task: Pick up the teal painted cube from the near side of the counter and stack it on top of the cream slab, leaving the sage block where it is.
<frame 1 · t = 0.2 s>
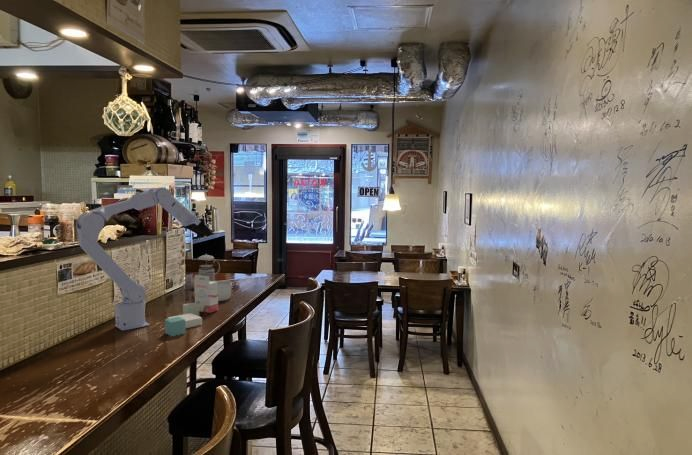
hand: (205, 233, 187), 31 cm above the bar counter, tool tilted 50°, fingers open, 7 cm apart
teal cube: (175, 333, 163), on the bar counter
french press: (208, 284, 245), on the bar counter
ink cartridge box: (206, 311, 193), on the bar counter
sage block: (191, 315, 185), on the bar counter
cream slab: (185, 325, 173), on the bar counter
ramekin: (217, 299, 214), on the bar counter
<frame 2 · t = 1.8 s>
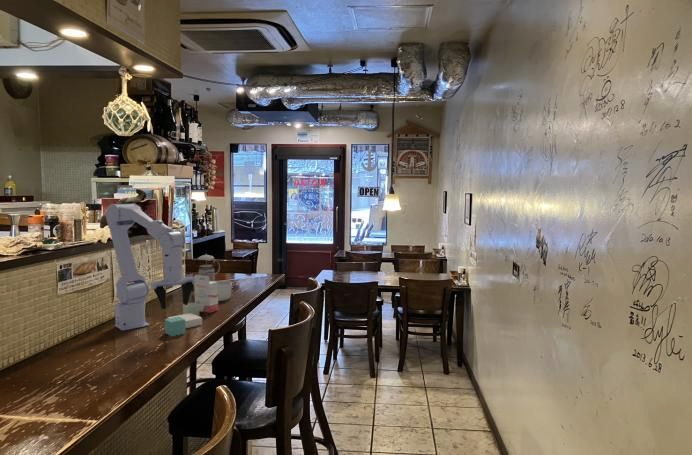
hand: (174, 306, 162), 9 cm above the bar counter, tool pointing down, fingers open, 7 cm apart
nothing on the bar counter moved.
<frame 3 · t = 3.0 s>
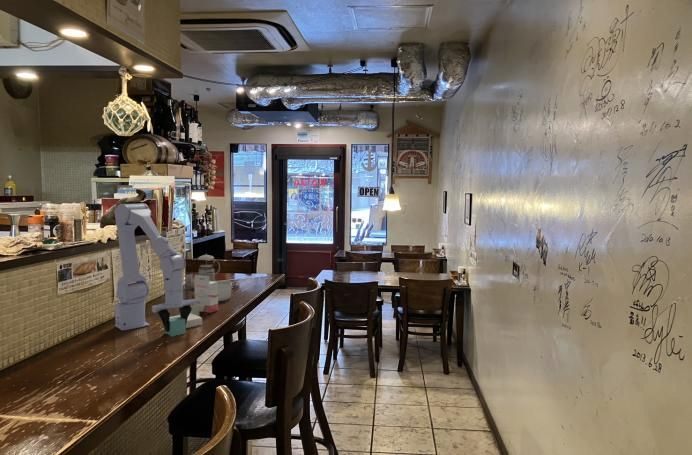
hand: (175, 329, 163), 1 cm above the bar counter, tool pointing down, fingers closed on teal cube, 5 cm apart
teal cube: (175, 333, 163), on the bar counter, touching gripper
everything else where it was.
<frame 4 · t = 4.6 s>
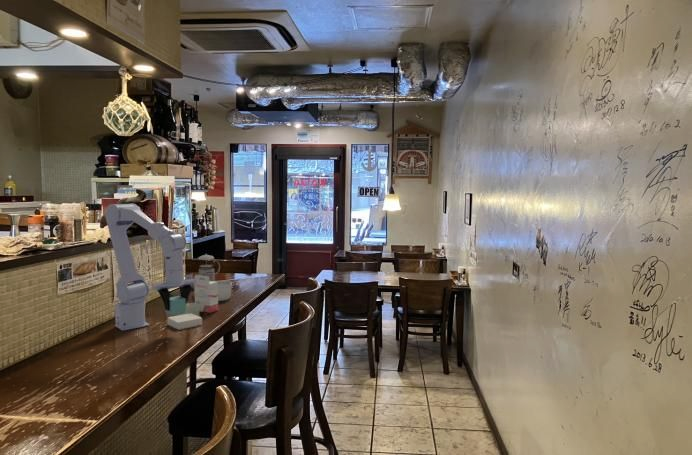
hand: (175, 308, 163), 8 cm above the bar counter, tool pointing down, fingers closed on teal cube, 5 cm apart
teal cube: (175, 312, 163), point 7 cm above the bar counter, touching gripper
everything else where it was.
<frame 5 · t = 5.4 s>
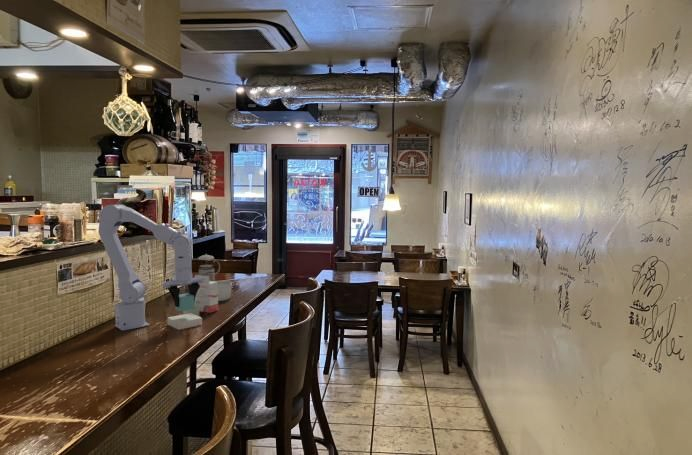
hand: (184, 305, 173), 7 cm above the bar counter, tool pointing down, fingers closed on teal cube, 5 cm apart
teal cube: (184, 309, 173), point 6 cm above the bar counter, touching gripper
everything else where it was.
when the fingers open (6 cm above the bar counter, at t = 6.1 s): teal cube drops 2 cm, resting on cream slab.
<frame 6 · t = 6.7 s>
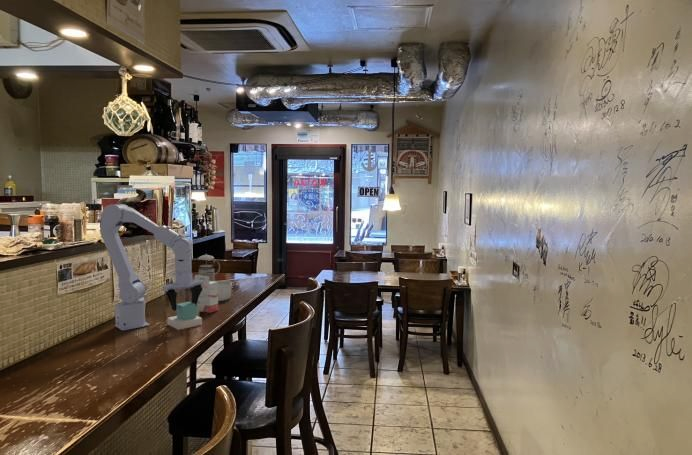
hand: (184, 308, 173), 6 cm above the bar counter, tool pointing down, fingers open, 7 cm apart
teal cube: (186, 317, 173), point 3 cm above the bar counter, touching cream slab
cream slab: (185, 325, 173), on the bar counter, touching teal cube
everything else where it was.
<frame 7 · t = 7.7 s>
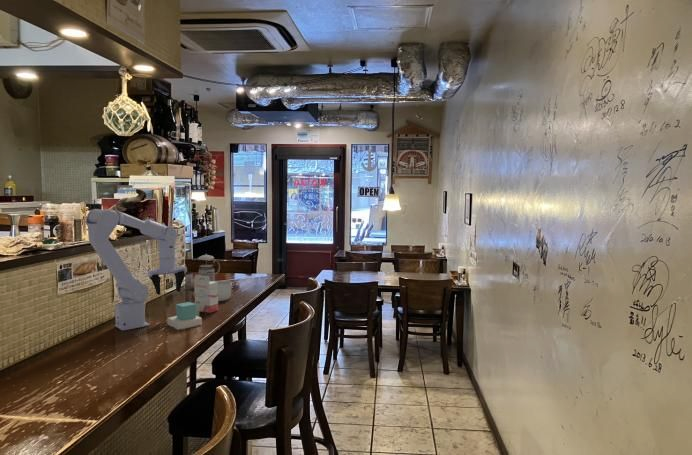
hand: (168, 292, 183), 9 cm above the bar counter, tool pointing down, fingers open, 7 cm apart
teal cube: (186, 317, 173), point 2 cm above the bar counter
cream slab: (184, 325, 173), on the bar counter
everything else where it was.
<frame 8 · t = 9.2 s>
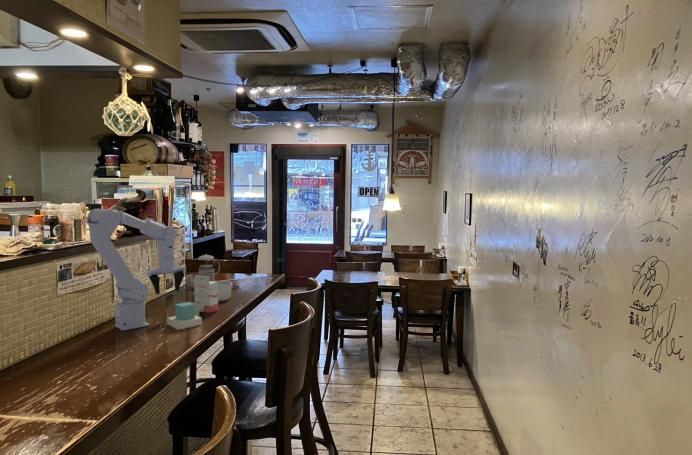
hand: (167, 292, 184), 9 cm above the bar counter, tool pointing down, fingers open, 7 cm apart
teal cube: (185, 317, 173), point 2 cm above the bar counter, touching cream slab
cream slab: (184, 325, 173), on the bar counter, touching teal cube
everything else where it was.
at the end: teal cube 0.4 cm off-centre on the cream slab, point 3.0 cm above the cream slab's base; teal cube tilted 0°; the gripper is holding nothing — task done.
